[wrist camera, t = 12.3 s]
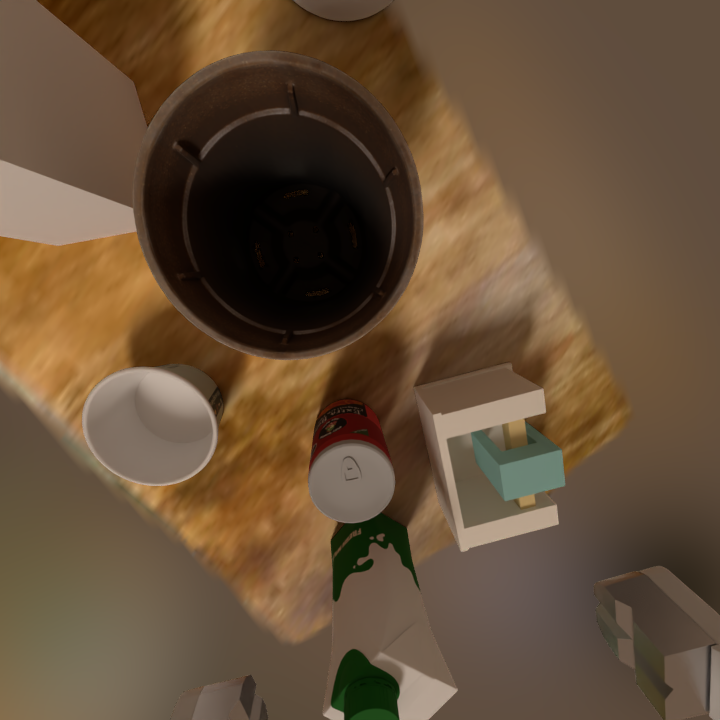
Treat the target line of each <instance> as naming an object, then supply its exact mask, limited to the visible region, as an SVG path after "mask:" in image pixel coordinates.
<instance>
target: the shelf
mask: <svg viewBox="0 0 720 720" xmlns="http://www.w3.org/2000/svg"><path fill="white" fill-rule="evenodd" d="M414 392H415V397H416V401H417V406H418V410H419V415H420V419H421V424H422V428H423V433H424V438H425V442H426V447H427V451H428V456H429V460H430V465H431V470H432V474H433V479H434V483H435V488H436V492H437V497H438V501H439V504H440V506H441V509H442V511H443V513H444V515H445V517H446V520H447V522H448V524H449V526H450V528H451V531H452V533H453V535H454V537H455V539H456V542H457V544H458V546H459V548H460V550H461V552H463V551H467V550H468V548H471V547H475V546H479V545H482V544H486V543H490V542H493V541H498V540H501V539H505V538H509V537H513V536H516V535H520V534H524V533H528V532H532V531H535V530H539V529H543V528H547V527H550V526H554V525H558V524H559V522H558V513H557V504H556V503H555V502H554V501H553V500H552V499H551V498H550V497H549V496H548V495H547V494H546V493H545V492H544V491H543V492H539V493H536V494H532V495H528V496H524V497H520V498H516V499H512V500H509V501H504V500H503V498H502V497H501V496H500V494H499V493H498V492H497V490H496V489H495V487H494V486H493V485H492V483H491V482H490V481H489V479H488V478H487V477H486V475H485V474H484V473H483V471H482V470H481V469H480V467H479V466H478V465H477V463H476V460H475V455H474V449H473V443H472V437H471V432H474V431H478V430H482V431H483V432H484V433H485V434H486V435H487V436H488V437H489V438H490V439H491V441H492V442H493V443H494V444H495V445H496V446H497V447H498V448H499V449H500V450H501V451H506V450H510V449H514V448H517V447H521V446H525V445H528V442H527V435H526V427H525V420H524V418H528V417H532V416H535V415H539V414H543V413H546V407H545V398H544V390H543V388H541V387H540V386H538V385H536V384H534V383H533V382H531V381H529V380H527V379H525V378H524V377H522V376H520V375H518V374H516V373H515V372H513V369H512V363H510V362H508V363H504V364H500V365H496V366H492V367H488V368H485V369H481V370H477V371H473V372H469V373H465V374H462V375H458V376H454V377H450V378H446V379H442V380H439V381H435V382H431V383H427V384H423V385H419V386H416V387H414Z"/></svg>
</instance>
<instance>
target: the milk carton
mask: <svg viewBox="0 0 720 720" xmlns="http://www.w3.org/2000/svg"><path fill="white" fill-rule="evenodd" d="M331 553H332V566H333V636H332V638H333V639H332V654H331V660H330V667H329V674H328V680H327V687H326V695H325V701H324V707H323V715H324V716H325V717H327V718H329V719H332V720H429V718H430V717H432V716H433V714H434V713H436V712H437V711H438V710H439V709H440V708H441V707H442V706H443V705H444V704H445V703H446V702H447V701H448V699H449V698H451V697H452V695H454V694H455V693H456V692H457V690H458V689H457V687H456V685H455V682H454V680H453V678H452V676H451V674H450V671H449V669H448V667H447V665H446V663H445V660H444V658H443V656H442V654H441V652H440V649H439V647H438V645H437V643H436V640H435V638H434V636H433V634H432V631H431V628H430V625H429V622H428V618H427V614H426V610H425V607H424V603H423V599H422V596H421V592H420V588H419V584H418V581H417V577H416V573H415V570H414V566H413V562H412V557H411V551H410V545H409V539H408V532H407V528H406V527H404V526H402V525H401V524H399V523H397V522H396V521H394V520H392V519H391V518H389V517H387V516H386V515H384V514H382V513H381V512H380V513H379V514H378V515H376V516H375V517H373V518H371V519H369V520H366V521H363V522H358V523H345V524H344V526H343V527H342V528H341V529H340V530H339V532H338V533H337V534H336V535H335V536H334V538H333V539H332V540H331Z"/></svg>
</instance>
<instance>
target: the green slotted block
mask: <svg viewBox="0 0 720 720" xmlns="http://www.w3.org/2000/svg"><path fill="white" fill-rule="evenodd" d="M525 427H526V435H527V442H528V445H525V446H521V447H517V448H514V449H510V450H506V451H501V450H500V449H499V448H498V447H497V446H496V445H495V444H494V443H493V442H492V441H491V439H490V438H489V437H488V436H487V435H486V434H485V433H484V432H483V431H482V430H478V431H474V432H471V437H472V443H473V449H474V455H475V460H476V463H477V465H478V466H479V467H480V469H481V470H482V471H483V473H484V474H485V475H486V477H487V478H488V479H489V481H490V482H491V483H492V485H493V486H494V487H495V489H496V490H497V492H498V493H499V494H500V496H501V497H502V498H503V500H504V501H509V500H512V499H516V498H520V497H524V496H528V495H532V494H536V493H539V492H543V491H547V490H551V489H555V488H559V487H563V486H565V478H564V468H563V458H562V449H560V448H559V447H558V446H557V445H555V444H554V443H553V442H551V441H550V440H549V439H548V438H546V437H545V436H544V435H542V434H541V433H540V432H539V431H537V430H536V429H535V428H533V427H532V426H531V425H530V424H528V423H527V422H526V421H525Z"/></svg>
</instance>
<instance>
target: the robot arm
mask: <svg viewBox="0 0 720 720" xmlns="http://www.w3.org/2000/svg"><path fill="white" fill-rule="evenodd" d="M293 1H294V2H295V3H297V4H298V5H300V6H301V7H302V8H304V9H305V10H307V11H309V12H311V13H313V14H315V15H317V16H320V17H323V18H326V19H330V20H336V21H353V20H359V19H363V18H366V17H369V16H372V15H374V14H376V13H378V12H379V11H381V10H383V9H384V8H386V7H387V6H388V5H389V4H391V3H392V2H393V1H394V0H293ZM594 595H595V597H596V598H597V599H598V600H599V602H600V603H599V605H598V606H597V608H596V617H597V622H598V625H599V627H600V630H601V632H602V634H603V636H604V638H605V640H606V641H607V643H608V645H609V647H610V648H611V649H612V651H613V652H614V654H615V655H616V656H617V658H618V659H619V660H620V661H622V662H623V663H625V664H626V665H628V666H630V667H631V668H633V669H634V670H635V675H636V683H637V685H638V686H639V688H640V689H641V690H642V692H643V693H644V694H645V696H646V697H647V699H648V700H649V701H650V703H651V704H652V705H653V707H654V708H655V709H656V711H657V712H658V713H659V715H660V716H661V717H662V719H663V720H682V719H686V718H690V717H695V716H699V715H704V714H708V713H710V715H709V716H710V717H711V718H712V719H714V720H720V615H719V614H718V613H717V612H715V611H714V610H713V609H712V608H711V607H710V606H709V605H708V604H706V603H705V602H704V601H703V600H702V599H701V598H700V597H698V596H697V595H696V594H695V593H694V592H693V591H692V590H690V589H689V588H688V587H687V586H686V585H685V584H684V583H683V582H681V581H680V580H679V579H678V578H677V577H676V576H674V575H673V574H672V573H671V572H670V571H669V570H668V569H666V568H664V567H662V566H655V567H651V568H648V569H645V570H641V571H638V572H636V571H634V572H631V573H627V574H624V575H620V576H617V577H613V578H610V579H606V580H603V581H600V582H596V583H595V585H594ZM255 689H256V683H255V681H254V679H253V677H252V676H251V675H248V676H244V677H240V678H236V679H232V680H228V681H224V682H220V683H215V684H211V685H206V686H202V687H199V688H195V689H191V690H187V691H184V692H183V693H182V695H181V696H180V698H179V699H178V701H177V702H176V705H175V708H174V710H173V713H172V716H171V718H170V720H268V715H267V710H266V705H265V703H264V701H263V699H262V698H261V697H259V696H257V695H256V694H255Z"/></svg>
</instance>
